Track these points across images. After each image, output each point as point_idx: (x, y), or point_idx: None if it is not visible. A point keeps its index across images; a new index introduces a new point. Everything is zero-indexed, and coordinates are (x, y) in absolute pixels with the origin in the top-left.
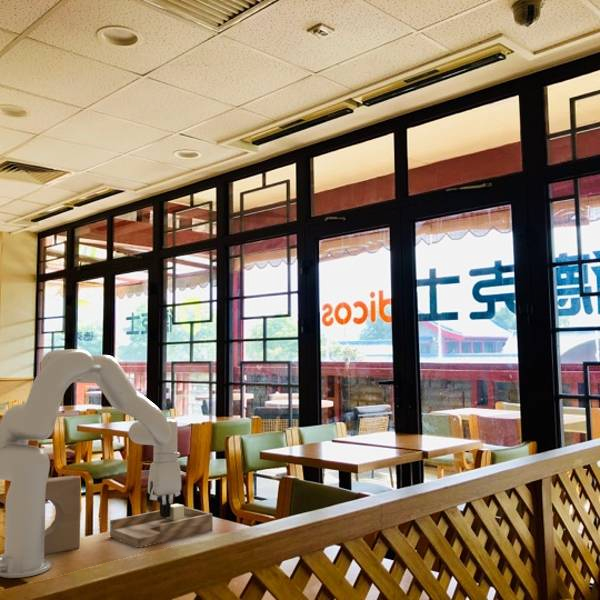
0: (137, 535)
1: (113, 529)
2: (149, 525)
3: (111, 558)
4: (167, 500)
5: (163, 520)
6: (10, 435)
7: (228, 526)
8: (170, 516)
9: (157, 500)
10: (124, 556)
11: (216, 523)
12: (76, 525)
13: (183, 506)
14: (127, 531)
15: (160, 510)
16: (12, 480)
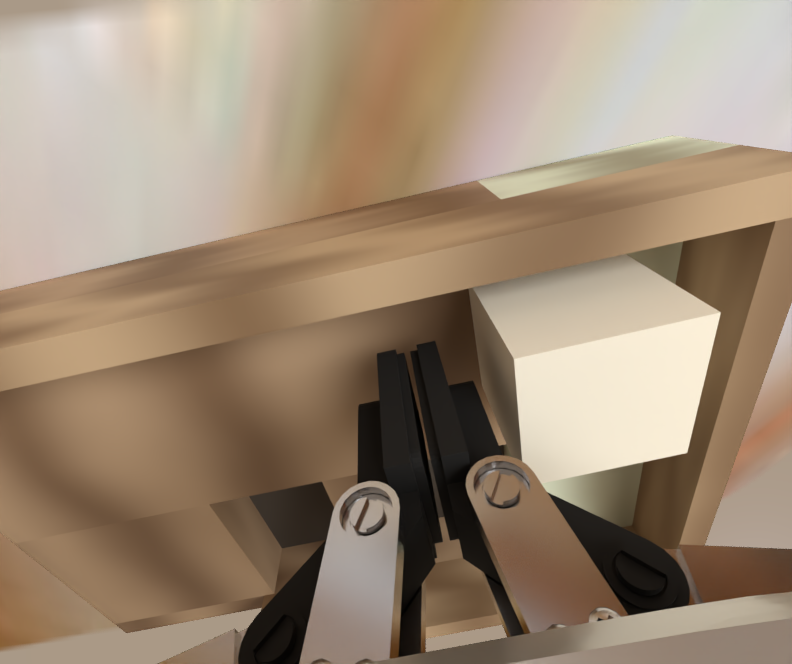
0: (113, 589)
1: None
2: (228, 434)
3: (11, 637)
4: (484, 560)
5: (401, 341)
6: None
7: (742, 464)
8: (484, 357)
9: (298, 596)
10: (74, 634)
11: (770, 376)
12: None
13: (669, 443)
14: (24, 503)
15: (360, 442)
16: None
